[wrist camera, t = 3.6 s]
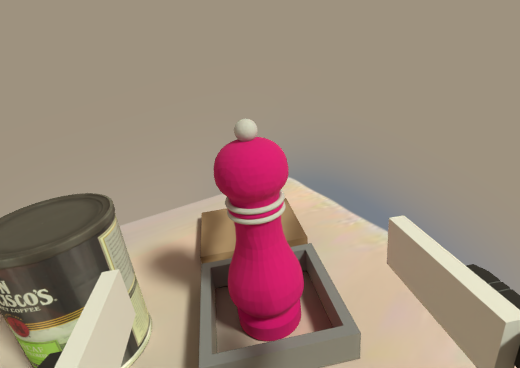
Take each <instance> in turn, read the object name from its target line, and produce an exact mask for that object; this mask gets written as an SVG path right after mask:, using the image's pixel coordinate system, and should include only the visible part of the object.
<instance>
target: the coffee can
mask: <svg viewBox="0 0 520 368" xmlns="http://www.w3.org/2000/svg"><path fill="white" fill-rule="evenodd" d="M117 269H119V270H120V273H121V275H122V278H123V281H124V284H125V286H126V289H127V292H128V294H129V297H130V300H131V302H132V305H133V308H134V311H135V313H136V315H135V318H134V322H133V325H132V329H131V332H130V336H129V339H128V343H127V346H126V350H125V353H124V357H123V360H122V364H121V367H120V368H129V367H130V366H131V365H132V364H133V363H134V362H135V361H136V359H137V358H138V357H139V356H140V354H141V353H142V352H143V350H144V349H145V347H146V345H147V343H148V341H149V338H150V335H151V330H152V321H151V317H150V315H149V313H148V311H147V308H146V305H145V302H144V299H143V296H142V293H141V290H140V287H139V284H138V281H137V278H136V275H135V272H134V269H133V266H132V263H131V260H130V257H129V254H128V251H127V248H126V245H125V242H124V239H123V236H122V233H121V230H120V227H119V224H118V221H117V218H116V216H115V208H114V204H113V201H112V200H111V199H110V198H109V197H107V196H105V195H100V194H92V193H86V194H75V195H68V196H62V197H57V198H53V199H49V200H45V201H42V202H38V203H35V204H32V205H29V206H27V207H24V208H21V209H19V210H16V211H14V212H12V213H9V214H7V215H5V216H3V217H1V218H0V312H1V313H2V315H3V316H4V318H5V320H6V322H7V323H8V325H9V327H10V329H11V330H12V332H13V333H14V335H15V337H16V338H17V340H18V342H19V343H20V345H21V347H22V349H23V350H24V352H25V354H26V356H27V357H28V359H29V361H30V362H31V364H32V366H33V368H37V367H38V366H39V365H40V364H41V363H42V361H43V360H44V359H45V358H46V357H47V356H48V355H49V354H50V353H55V352H60V351H63V349H64V347H65V345H66V343H67V341H68V339H69V337H70V335H71V333H72V331H73V329H74V327H75V325H76V323H77V321H78V319H79V317H80V315H81V313H82V311H83V309H84V307H85V305H86V303H87V301H88V299H89V297H90V295H91V293H92V291H93V289H94V287H95V285H96V283H97V281H98V279H99V277H100V275H101V273H102V272H106V271H112V270H117Z"/></svg>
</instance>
